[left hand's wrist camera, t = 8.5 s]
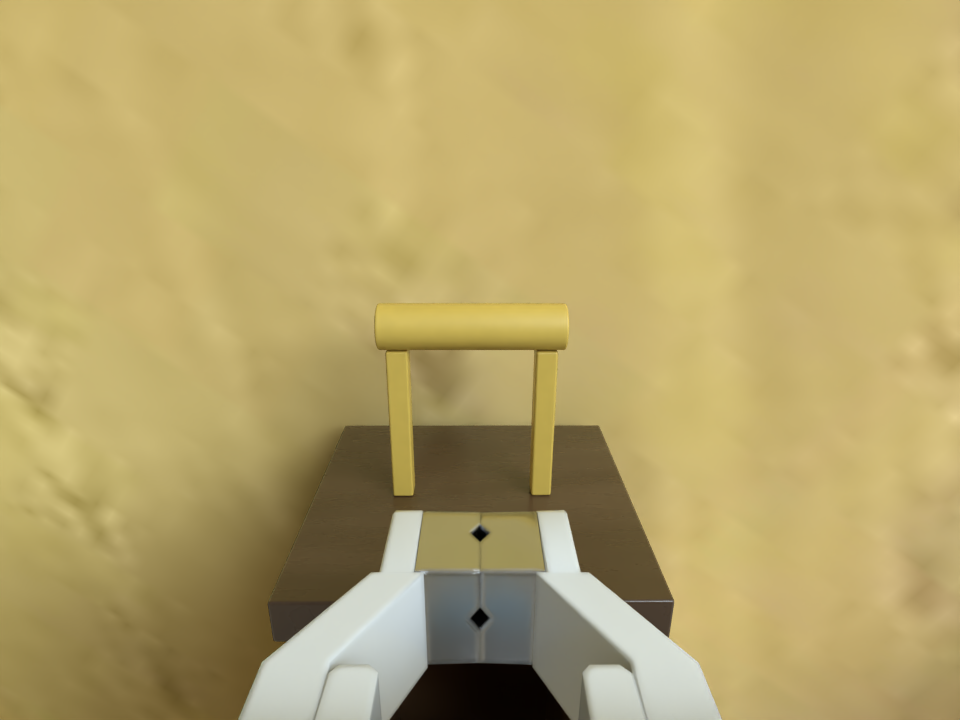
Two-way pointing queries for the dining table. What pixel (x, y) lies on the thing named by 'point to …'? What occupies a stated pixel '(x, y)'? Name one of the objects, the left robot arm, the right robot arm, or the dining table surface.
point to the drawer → (468, 498)
